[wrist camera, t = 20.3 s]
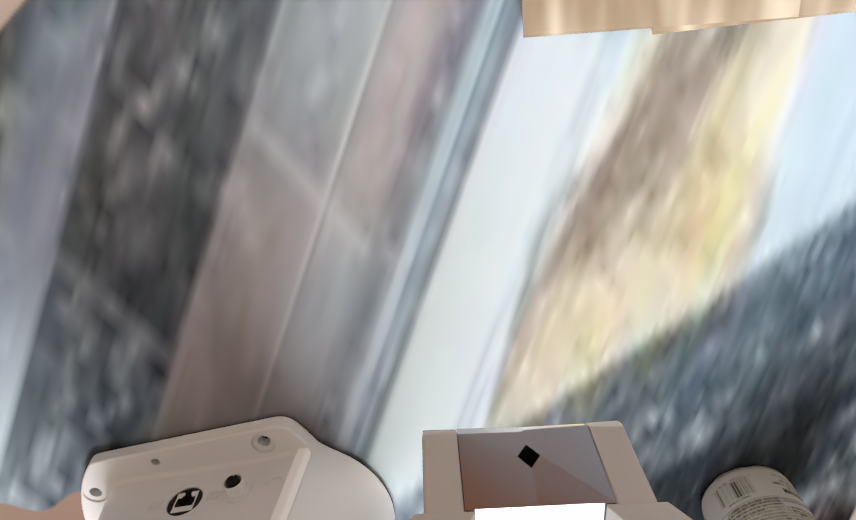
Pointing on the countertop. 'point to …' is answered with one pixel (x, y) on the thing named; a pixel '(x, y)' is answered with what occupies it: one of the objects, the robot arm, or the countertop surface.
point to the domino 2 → (812, 4)
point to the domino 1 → (643, 14)
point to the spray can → (753, 496)
